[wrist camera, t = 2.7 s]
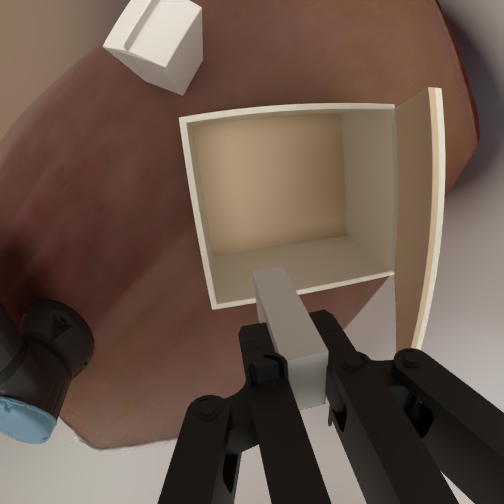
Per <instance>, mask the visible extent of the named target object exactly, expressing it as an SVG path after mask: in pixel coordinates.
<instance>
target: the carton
mask: <svg viewBox="0 0 504 504" xmlns="http://www.w3.org/2000/svg"><path fill="white" fill-rule="evenodd" d="M179 123H180V130H181V137H182V144H183V151H184V157H185V164H186V170H187V177H188V183H189V189H190V195H191V201H192V207H193V213H194V219H195V224H196V230H197V235H198V241H199V246H200V251H201V257H202V262H203V267H204V272H205V277H206V282H207V287H208V292H209V297H210V301H211V306H212V310H214V309H220V308H226V307H232V306H238V305H244V304H250V303H256V297H255V290H254V282H253V274H252V271H255V270H261V269H267V268H273V267H279V266H283V268H284V270H285V272H286V274H287V275H288V277H289V279H290V281H291V283H292V285H293V286H294V288H295V290H296V292H297V294H298V295H300V294H305V293H310V292H315V291H320V290H325V289H330V288H335V287H339V286H344V285H349V284H353V283H358V282H363V281H367V280H372V279H376V278H381V277H385V276H389V275H393V274H394V266H395V254H396V238H397V216H398V155H397V133H396V119H395V107H394V105H392V104H370V103H314V104H291V105H276V106H263V107H252V108H243V109H234V110H226V111H218V112H211V113H204V114H198V115H192V116H186V117H180V118H179Z"/></svg>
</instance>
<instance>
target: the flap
mask: <svg viewBox="0 0 504 504" xmlns="http://www.w3.org/2000/svg"><path fill="white" fill-rule="evenodd" d="M395 116H396V130H397V150H398V221H397V241H396V256H395V268H394V279H395V300H396V353H397V352H398V351H400V350H402V349H405V348H415V349H419V350H421V346H422V342H423V338H424V334H425V330H426V326H427V321H428V316H429V312H430V307H431V302H432V297H433V291H434V285H435V279H436V273H437V267H438V259H439V252H440V243H441V234H442V223H443V210H444V192H445V133H444V115H443V102H442V92H441V88H432V87H428V88H426V89H425V90H423V91H421V92H420V93H418V94H416V95H415V96H413V97H412V98H410V99H408V100H407V101H405V102H404V103H402V104H401V105H399V106H397V107H396V108H395Z"/></svg>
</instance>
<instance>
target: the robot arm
mask: <svg viewBox="0 0 504 504" xmlns="http://www.w3.org/2000/svg"><path fill="white" fill-rule="evenodd" d="M252 274H253V282H254V290H255V297H256V305H257V313H258V319H259V322H260V323H258V324H252V325H247V326H242V327H241V330H240V332H239V334H238V336H239V342H240V347H241V353H242V358H243V364H244V370H245V376H246V382H245V385H244V386H243V388H242V389H241V390H240V391H239V392H238V393H236V394H234V395H232V396H230V397H228V398H225V399H223V398H221V397H220V396H215V395H206V396H202V397H199V398H197V399H195V400H194V401H193V402H192V403H191V404H190V405H189V407H188V409H187V412H186V415H185V418H184V421H183V424H182V427H181V430H180V434H179V437H178V440H177V443H176V446H175V450H174V452H173V456H172V459H171V462H170V465H169V468H168V472H167V475H166V478H165V481H164V485H163V488H162V491H161V494H160V497H159V501H158V504H234V499H235V493H236V486H237V480H238V473H239V467H240V460H241V454H242V452H243V451H245V450H247V449H249V448H252V447H254V446H256V445H258V444H259V447H260V452H261V457H262V461H263V466H264V471H265V475H266V480H267V485H268V489H269V494H270V498H271V502H272V504H331V501H330V498H329V495H328V493H327V489H326V487H325V484H324V481H323V478H322V475H321V472H320V469H319V467H318V464H317V461H316V458H315V455H314V452H313V449H312V446H311V444H310V441H309V438H308V435H307V432H306V429H305V426H304V423H303V420H302V417H301V414H300V411H299V410H303V409H307V408H311V407H315V406H319V405H323V404H325V401H326V397H327V399H328V401H329V403H330V407H329V418H328V425H329V426H331V425H332V421H333V423H334V426H335V428H336V430H337V433H338V435H339V438H340V440H341V442H342V445H343V447H344V450H345V452H346V454H347V457H348V459H349V462H350V464H351V466H352V469H353V471H354V474H355V476H356V478H357V481H358V483H359V486H360V488H361V491H362V493H363V495H364V498H365V500H366V503H367V504H459V503H458V501H457V499H456V497H455V496H454V494H453V492H452V490H451V489H450V487H449V485H448V483H447V482H446V480H445V478H444V477H443V475H442V473H443V474H445V476H447V477H448V478H449V479H450V480H451V481H452V482H453V483H454V484H455V485H456V486H457V487H458V488H459V489H460V490H461V491H462V492H463V493H464V494H465V495H466V496H467V497H468V498H469V499H470V500H472V501H473V502H474V503H475V504H504V413H503V412H502V411H501V410H499V409H498V408H497V407H495V406H494V405H493V404H492V403H490V402H489V401H487V400H486V399H485V398H484V397H482V396H481V395H480V394H478V393H477V392H476V391H475V390H473V389H472V388H471V387H470V386H468V385H467V384H465V383H464V382H462V380H460V379H459V378H458V377H456V376H455V375H454V374H452V373H451V372H449V371H448V370H447V369H446V368H444V367H443V366H442V365H440V364H439V363H438V362H437V361H435V360H434V359H433V358H431V357H430V356H428V355H427V354H426V353H424V352H423V351H421V350H419V349H415V348H405V349H402V350H400V351H398V352H397V353H396V354H395V356H394V360H384V361H374V360H371V359H370V358H369V357H368V356H367V355H366V354H363V353H361V352H357V351H356V350H355V348H354V346H353V345H352V343H351V342H350V340H349V339H348V337H347V336H346V334H345V332H344V331H343V330H342V328H341V326H340V325H339V324H338V322H337V320H336V319H335V317H334V316H333V315H332V314H331V313H329V312H327V311H326V310H321V311H316V312H311V313H308V312H307V310H306V308H305V307H304V305H303V303H302V301H301V299H300V297H299V296H298V294H297V292H296V290H295V288H294V286H293V285H292V283H291V281H290V279H289V277H288V275H287V274H286V272H285V270H284V268H283V266H279V267H273V268H267V269H261V270H255V271H252ZM93 352H94V340H93V336H92V334H91V331H90V329H89V328H88V326H87V324H86V323H85V322H84V320H83V319H82V318H81V317H80V316H79V315H78V314H77V313H76V312H74V311H73V310H72V309H70V308H69V307H67V306H65V305H63V304H61V303H59V302H56V301H52V300H40V301H37V302H35V303H33V304H32V305H31V306H30V307H29V308H28V309H27V311H26V312H25V313H24V315H23V317H22V320H21V324H20V330H19V331H18V329H17V328H16V326H15V324H14V323H13V321H12V320H11V318H10V316H9V315H8V313H7V311H6V310H5V308H4V306H3V305H2V303H1V301H0V431H1V432H2V433H4V434H6V435H8V436H10V437H12V438H14V439H16V440H19V441H21V442H25V443H30V444H41V443H44V442H46V441H47V440H48V439H49V438H50V436H51V433H52V431H53V429H54V427H55V426H56V424H57V419H58V416H59V413H60V410H61V407H62V405H63V402H64V399H65V396H66V393H67V391H68V388H69V386H70V383H71V381H72V379H73V378H75V377H76V376H77V375H78V374H79V373H80V372H81V371H82V370H83V369H84V368H85V367H86V366H87V365H88V364H89V362H90V360H91V357H92V355H93ZM441 472H442V473H441Z"/></svg>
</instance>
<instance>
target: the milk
mask: <svg viewBox="0 0 504 504" xmlns="http://www.w3.org/2000/svg"><path fill="white" fill-rule="evenodd" d="M103 47H104V48H105V49H106V50H107V51H109V52H110V53H111V54H112V55H114V56H115V57H116V58H117V59H119V60H120V61H121V62H122V63H124V64H125V65H126V66H127V67H129V68H130V69H131V70H132V71H133V72H135V73H136V74H137V75H138V76H139V77H141V78H142V79H143V80H144V81H146V82H148V83H151V84H154V85H156V86H159V87H161V88H164V89H167V90H169V91H172V92H174V93H177V94H179V95H181V96H184V94H185V92H186V90H187V88H188V86H189V84H190V82H191V81H192V79H193V77H194V75H195V73H196V71H197V70H198V68H199V66H200V64H201V63H202V61H203V39H202V8H201V7H200V6H198V5H197V4H195V3H193V2H191V1H190V0H131V1H130V2H129V4H128V5H127V7H126V8H125V10H124V12H123V13H122V14H121V16H120V18H119V19H118V21H117V23H116V24H115V26H114V27H113V29H112V31H111V33H110V34H109V36H108V38H107V39H106V41H105V43H104V45H103Z"/></svg>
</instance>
